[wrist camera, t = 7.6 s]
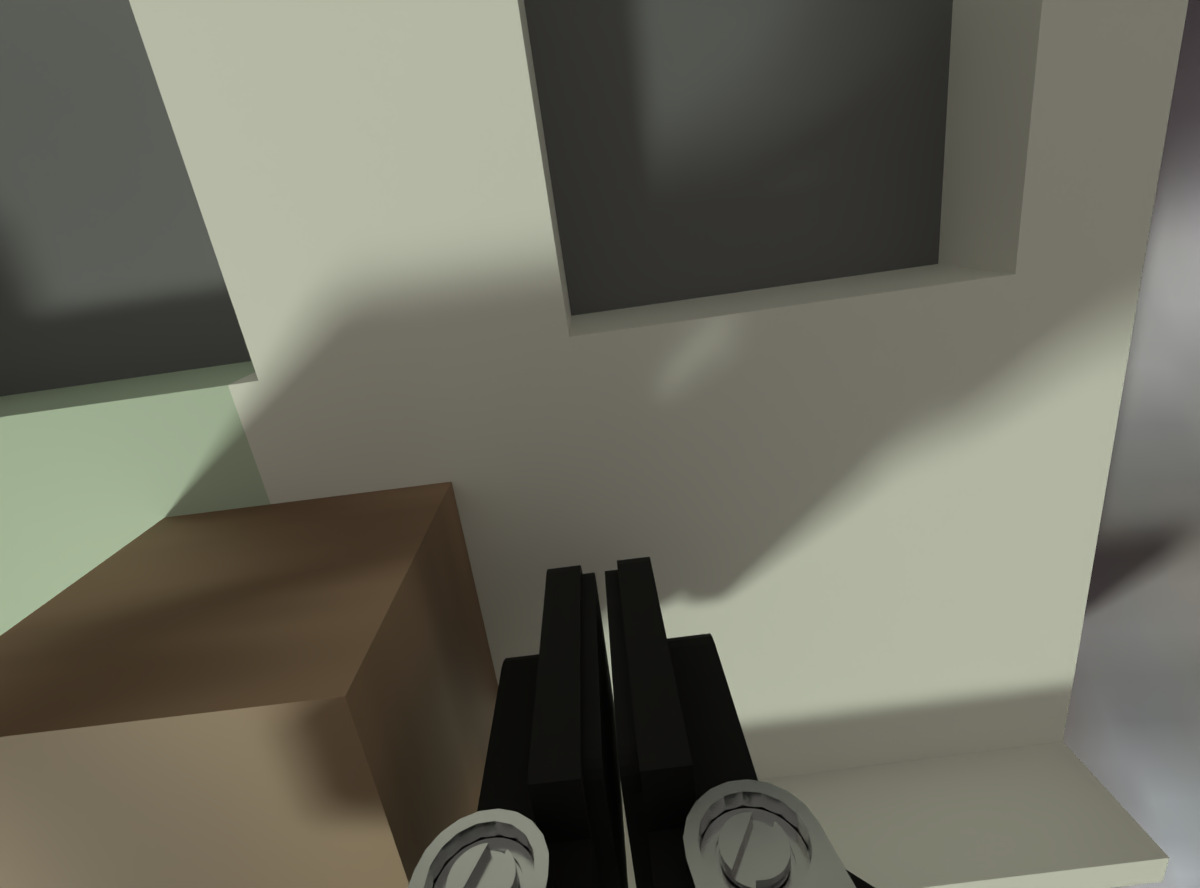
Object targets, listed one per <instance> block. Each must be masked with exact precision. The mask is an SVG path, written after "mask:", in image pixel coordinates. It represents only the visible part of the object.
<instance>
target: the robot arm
mask: <svg viewBox="0 0 1200 888" xmlns="http://www.w3.org/2000/svg"><path fill="white" fill-rule="evenodd" d="M617 568H618V570H610V571H605V584H606V598H607V612H608V626H609V640H610V654H611V668H612V682H613V692H612V685H611V679H610V672H609V665H608V658H607V651H606V644H605V637H604V631H603V624H602V617H601V610H600V603H599V596H598V589H597V583H596V576H595V572H594V573H586V574H583V573H582V568H581V565H577V566H569V567H561V568H553V569H547V573H546V584H545V595H544V606H543V617H542V628H541V639H540V650H539V654H536V655H528V656H520V657H511V658H505V660H504V661H503V664H502V668H501V674H500V680H499V685H498V691H497V697H496V703H495V709H494V715H493V721H492V726H491V732H490V738H489V744H488V750H487V756H486V762H485V767H484V773H483V779H482V785H481V791H480V797H479V803H478V808H477V812H476V813H473V814H471V815H468V816H466V817H463V818H461V819H459V820H457V821H456V822H455V823H453V824H452V825H450V826H449V827H448V828H446V829H445V830H443V831H442V832H441V833H440V834H439V835H438V836H437V837H436V838H435V840H434V841H433V842H432V843H431V844H430V845H429V846H428V847H427V848H426V850H425V852H424V853H423V855H422V857H421V859H420V861H419V863H418V864H417V866H416V868H415V870H414V872H413V875H412V878H411V880H410V883H409V885H408V888H628V877H627V863H626V850H625V836H624V822H623V808H622V796H623V803H624V809H625V816H626V823H627V829H628V836H629V843H630V849H631V856H632V863H633V869H634V876H635V883H636V888H875V887H873V886H872V885H870V884H868V883H867V882H865V881H864V880H862V879H861V878H859V877H857V876H856V875H854V874H853V873H851V872H849V871H848V870H846V869H845V867H844V865H843V864H842V862H841V860H840V858H839V857H838V855H837V853H836V851H835V850H834V848H833V846H832V844H831V842H830V841H829V839H828V837H827V835H826V834H825V832H824V830H823V828H822V827H821V825H820V823H819V822H818V820H817V819H816V818H815V816H814V815H813V814H812V812H811V811H810V810H809V809H808V807H807V806H806V805H805V804H804V803H803V802H801V801H800V800H799V799H798V798H796V797H795V796H794V795H792V794H791V793H790V792H788V791H787V790H784V789H782V788H780V787H777V786H775V785H773V784H770V783H768V782H762V781H758V778H757V775H756V772H755V769H754V766H753V763H752V759H751V756H750V753H749V750H748V747H747V744H746V740H745V737H744V734H743V731H742V728H741V725H740V721H739V718H738V715H737V712H736V709H735V706H734V702H733V699H732V696H731V693H730V690H729V687H728V683H727V680H726V677H725V674H724V671H723V668H722V664H721V661H720V658H719V655H718V652H717V649H716V645H715V642H714V640H713V637H712V635H711V634H710V633H708V634H700V635H692V636H684V637H675V638H667V637H666V632H665V627H664V622H663V618H662V613H661V608H660V603H659V598H658V593H657V589H656V584H655V579H654V574H653V569H652V564H651V560H650V557H641V558H633V559H625V560H617ZM613 696H614V699H613ZM621 789H622V795H621Z"/></svg>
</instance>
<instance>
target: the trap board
mask: <svg viewBox="0 0 1200 888" xmlns="http://www.w3.org/2000/svg"><path fill="white" fill-rule="evenodd" d="M1188 1H1189V0H0V636H1V635H2V634H3V633H5V632H6V631H8V630H9V629H10V628H12V627H13V626H14V625H16V624H17V623H19V622H20V621H21V620H23V619H24V618H26V617H27V616H28V615H30V614H31V613H33V612H34V611H35V610H37V609H38V608H39V607H41V606H42V605H44V604H45V603H46V602H48V601H49V600H51V599H52V598H53V597H55V596H56V595H58V594H59V593H60V592H62V591H63V590H64V589H66V588H67V587H69V586H70V585H71V584H73V583H74V582H76V581H77V580H78V579H80V578H81V577H83V576H84V575H85V574H87V573H88V572H90V571H91V570H92V569H94V568H95V567H96V566H98V565H99V564H101V563H102V562H103V561H105V560H106V559H108V558H109V557H110V556H112V555H113V554H115V553H116V552H117V551H119V550H120V549H121V548H123V547H124V546H126V545H127V544H128V543H130V542H131V541H133V540H134V539H135V538H137V537H138V536H140V535H141V534H142V533H144V532H145V531H146V530H148V529H149V528H151V527H152V526H153V525H155V524H156V523H158V522H159V521H160V520H162V519H163V518H165V517H173V516H181V515H189V514H197V513H205V512H213V511H221V510H229V509H237V508H245V507H253V506H261V505H269V504H277V503H285V502H293V501H301V500H309V499H317V498H325V497H333V496H341V495H349V494H356V493H364V492H372V491H380V490H388V489H396V488H404V487H412V486H420V485H428V484H436V483H445V482H452V486H453V490H454V494H455V499H456V503H457V508H458V512H459V516H460V521H461V525H462V530H463V534H464V538H465V543H466V547H467V551H468V556H469V560H470V565H471V569H472V573H473V578H474V582H475V587H476V591H477V595H478V600H479V604H480V609H481V613H482V617H483V622H484V626H485V630H486V635H487V639H488V644H489V648H490V652H491V657H492V661H493V666H494V670H495V674H496V679H497V683H498V685H499V680H500V674H501V668H502V664H503V661H504V660H505V658H511V657H520V656H528V655H536V654H539V650H540V639H541V628H542V617H543V606H544V595H545V584H546V573H547V569H553V568H561V567H569V566H577V565H581V568H582V573H583V574H586V573H594V572H595V576H596V583H597V589H598V596H599V603H600V610H601V617H602V624H603V631H604V637H605V644H606V651H607V658H608V665H609V672H610V679H611V685H612V692H613V682H612V668H611V654H610V640H609V626H608V612H607V598H606V584H605V571H610V570H618V568H617V560H625V559H633V558H641V557H650V560H651V564H652V569H653V574H654V579H655V584H656V589H657V593H658V598H659V603H660V608H661V613H662V618H663V622H664V627H665V632H666V637H667V638H675V637H684V636H692V635H700V634H708V633H710V634H711V635H712V637H713V640H714V642H715V645H716V649H717V652H718V655H719V658H720V661H721V664H722V668H723V671H724V674H725V677H726V680H727V683H728V687H729V690H730V693H731V696H732V699H733V702H734V706H735V709H736V712H737V715H738V718H739V721H740V725H741V728H742V731H743V734H744V737H745V740H746V744H747V747H748V750H749V753H750V756H751V759H752V763H753V766H754V769H755V772H756V775H757V778H758V781H762V782H768V783H770V784H773V785H775V786H777V787H780V788H782V789H784V790H787V791H788V792H790V793H791V794H792V795H794V796H795V797H796V798H798V799H799V800H800V801H801V802H803V803H804V804H805V805H806V806H807V807H808V809H809V810H810V811H811V812H812V814H813V815H814V816H815V818H816V819H817V820H818V822H819V823H820V825H821V827H822V828H823V830H824V832H825V834H826V835H827V837H828V839H829V841H830V842H831V844H832V846H833V848H834V850H835V851H836V853H837V855H838V857H839V858H840V860H841V862H842V864H843V865H844V867H845V869H846V870H848V871H849V872H851V873H853V874H854V875H856V876H857V877H859V878H861V879H862V880H864V881H865V882H867V883H868V884H870V885H872V886H873V887H875V888H1112V887H1121V886H1129V885H1137V884H1146V883H1154V882H1162V881H1163V879H1164V875H1165V872H1166V868H1167V864H1168V861H1169V857H1168V856H1167V855H1166V854H1165V853H1164V852H1163V850H1162V849H1161V848H1160V847H1159V846H1158V845H1157V844H1156V843H1155V842H1154V841H1153V840H1152V838H1151V837H1150V836H1149V835H1148V834H1147V833H1146V832H1145V831H1144V830H1143V829H1142V828H1141V826H1140V825H1139V824H1138V823H1137V822H1136V821H1135V820H1134V819H1133V818H1132V817H1131V816H1130V814H1129V813H1128V812H1127V811H1126V810H1125V809H1124V808H1123V807H1122V806H1121V805H1120V803H1119V802H1118V801H1117V800H1116V799H1115V798H1114V797H1113V796H1112V795H1111V794H1110V793H1109V791H1108V790H1107V789H1106V788H1105V787H1104V786H1103V785H1102V784H1101V783H1100V782H1099V781H1098V779H1097V778H1096V777H1095V776H1094V775H1093V774H1092V773H1091V772H1090V771H1089V770H1088V769H1087V767H1086V766H1085V765H1084V764H1083V763H1082V762H1081V761H1080V760H1079V759H1078V758H1077V757H1076V755H1075V754H1074V753H1073V752H1072V751H1071V750H1070V749H1069V748H1068V747H1067V746H1066V744H1065V743H1064V742H1063V738H1064V732H1065V727H1066V721H1067V715H1068V709H1069V703H1070V697H1071V691H1072V685H1073V679H1074V673H1075V668H1076V662H1077V656H1078V650H1079V644H1080V638H1081V632H1082V626H1083V620H1084V614H1085V609H1086V603H1087V597H1088V591H1089V585H1090V579H1091V573H1092V567H1093V561H1094V555H1095V550H1096V544H1097V538H1098V532H1099V526H1100V520H1101V514H1102V508H1103V502H1104V497H1105V491H1106V485H1107V479H1108V473H1109V467H1110V461H1111V455H1112V449H1113V443H1114V438H1115V432H1116V426H1117V420H1118V414H1119V408H1120V402H1121V396H1122V390H1123V384H1124V379H1125V373H1126V367H1127V361H1128V355H1129V349H1130V343H1131V337H1132V331H1133V326H1134V320H1135V314H1136V308H1137V302H1138V296H1139V290H1140V284H1141V278H1142V272H1143V267H1144V261H1145V255H1146V249H1147V243H1148V237H1149V231H1150V225H1151V219H1152V213H1153V208H1154V202H1155V196H1156V190H1157V184H1158V178H1159V172H1160V166H1161V160H1162V154H1163V149H1164V143H1165V137H1166V131H1167V125H1168V119H1169V113H1170V107H1171V101H1172V96H1173V90H1174V84H1175V78H1176V72H1177V66H1178V60H1179V54H1180V48H1181V42H1182V37H1183V31H1184V25H1185V19H1186V13H1187V7H1188ZM613 699H614V696H613ZM621 795H622V789H621ZM622 808H623V822H624V836H625V850H626V863H627V877H628V888H636V883H635V876H634V869H633V863H632V856H631V849H630V843H629V836H628V829H627V823H626V816H625V809H624V803H623V796H622Z"/></svg>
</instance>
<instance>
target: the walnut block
mask: <svg viewBox="0 0 1200 888" xmlns="http://www.w3.org/2000/svg"><path fill="white" fill-rule="evenodd" d="M497 691H498V683H497V679H496V674H495V670H494V666H493V661H492V657H491V652H490V648H489V644H488V639H487V635H486V630H485V626H484V622H483V617H482V613H481V609H480V604H479V600H478V595H477V591H476V587H475V582H474V578H473V573H472V569H471V565H470V560H469V556H468V551H467V547H466V543H465V538H464V534H463V530H462V525H461V521H460V516H459V512H458V508H457V503H456V499H455V494H454V490H453V486H452V482H445V483H436V484H428V485H420V486H412V487H404V488H396V489H388V490H380V491H372V492H364V493H356V494H349V495H341V496H333V497H325V498H317V499H309V500H301V501H293V502H285V503H277V504H269V505H261V506H253V507H245V508H237V509H229V510H221V511H213V512H205V513H197V514H189V515H181V516H173V517H165V518H163V519H162V520H160V521H159V522H158V523H156V524H155V525H153V526H152V527H151V528H149V529H148V530H146V531H145V532H144V533H142V534H141V535H140V536H138V537H137V538H135V539H134V540H133V541H131V542H130V543H128V544H127V545H126V546H124V547H123V548H121V549H120V550H119V551H117V552H116V553H115V554H113V555H112V556H110V557H109V558H108V559H106V560H105V561H103V562H102V563H101V564H99V565H98V566H96V567H95V568H94V569H92V570H91V571H90V572H88V573H87V574H85V575H84V576H83V577H81V578H80V579H78V580H77V581H76V582H74V583H73V584H71V585H70V586H69V587H67V588H66V589H64V590H63V591H62V592H60V593H59V594H58V595H56V596H55V597H53V598H52V599H51V600H49V601H48V602H46V603H45V604H44V605H42V606H41V607H39V608H38V609H37V610H35V611H34V612H33V613H31V614H30V615H28V616H27V617H26V618H24V619H23V620H21V621H20V622H19V623H17V624H16V625H14V626H13V627H12V628H10V629H9V630H8V631H6V632H5V633H3V634H2V635H1V636H0V888H408V885H409V883H410V880H411V878H412V875H413V872H414V870H415V868H416V866H417V864H418V863H419V861H420V859H421V857H422V855H423V853H424V852H425V850H426V848H427V847H428V846H429V845H430V844H431V843H432V842H433V841H434V840H435V838H436V837H437V836H438V835H439V834H440V833H441V832H442V831H443V830H445V829H446V828H448V827H449V826H450V825H452V824H453V823H455V822H456V821H457V820H459V819H461V818H463V817H466V816H468V815H471V814H473V813H476V812H477V808H478V803H479V797H480V791H481V785H482V779H483V773H484V767H485V762H486V756H487V750H488V744H489V738H490V732H491V726H492V721H493V715H494V709H495V703H496V697H497Z"/></svg>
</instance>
